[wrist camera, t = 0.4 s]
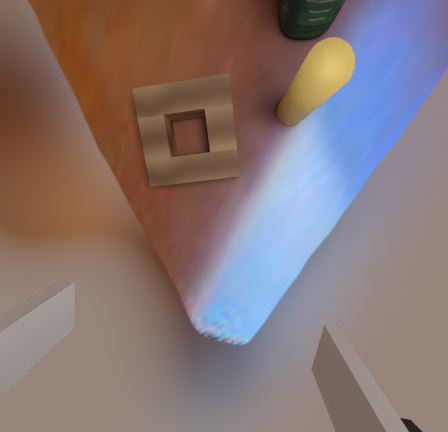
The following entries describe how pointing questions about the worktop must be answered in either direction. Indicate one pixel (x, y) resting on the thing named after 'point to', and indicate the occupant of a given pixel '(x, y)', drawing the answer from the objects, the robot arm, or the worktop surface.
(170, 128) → the socket block
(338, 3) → the coffee jar
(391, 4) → the worktop surface
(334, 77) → the peg
